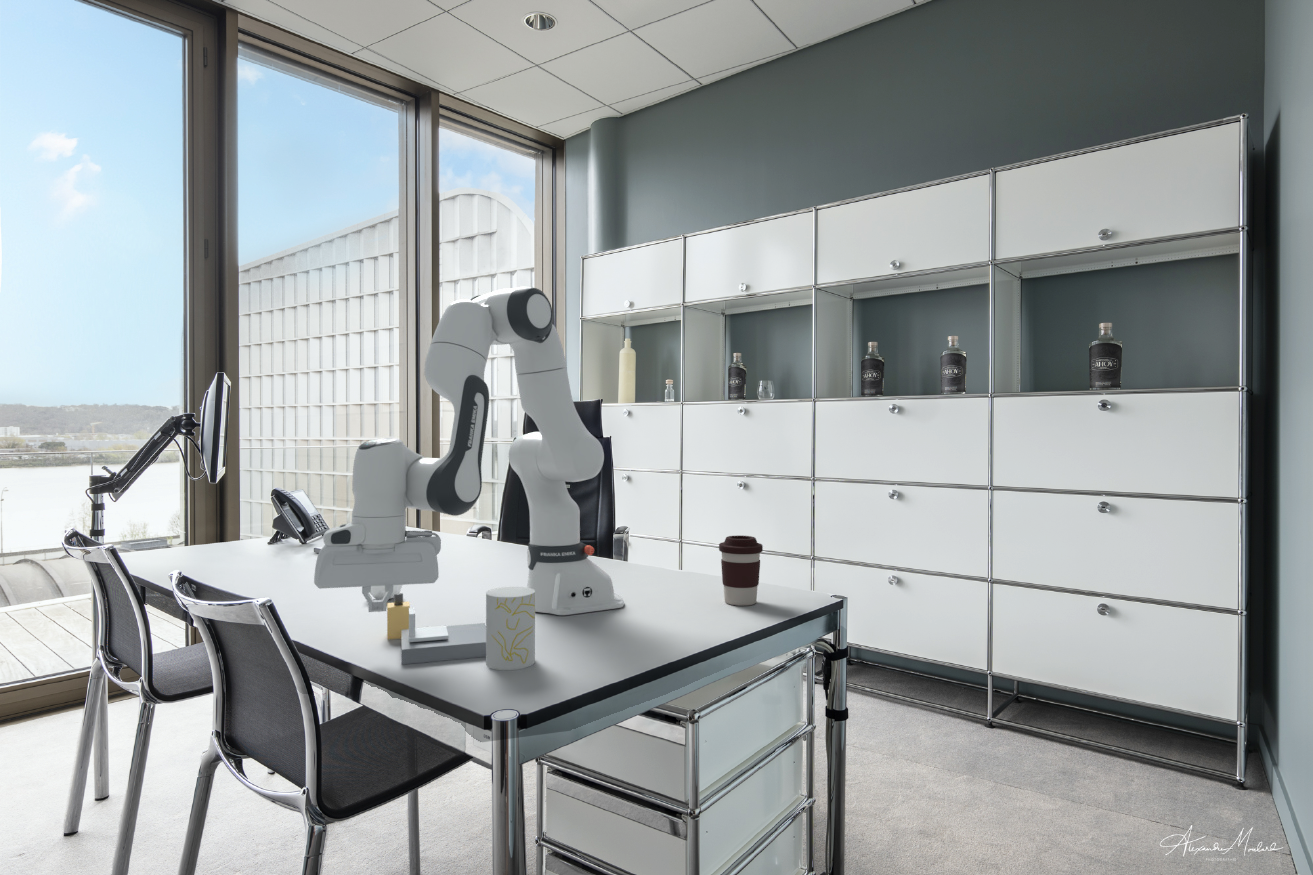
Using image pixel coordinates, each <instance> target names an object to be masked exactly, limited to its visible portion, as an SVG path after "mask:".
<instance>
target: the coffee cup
mask: <svg viewBox="0 0 1313 875" xmlns="http://www.w3.org/2000/svg"><path fill="white" fill-rule="evenodd" d="M763 547H764V546H763V544H762V543H760V542H759V543H758V541H757V538H756V537H755V536H751V535H729V536H726V537H725V539H724V541H723V542H720V543H719V544H718V550H719V552H721V560H720V562H721V563H720V564H721V577H722V578H721V579H722V585H723V597H724V602H725V603H726V604H728V605H731V606H737V607H738V606H739V607H741V606H743V607H745V606H746V607H747V606H752V605H755V604H756V603H757V597H758V596H757V595H758V587H759V582H760V569H761V560H760V557H761V553H762V552H763V551H764V550H763V549H764V548H763Z"/></svg>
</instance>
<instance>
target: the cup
mask: <svg viewBox="0 0 1313 875" xmlns="http://www.w3.org/2000/svg"><path fill="white" fill-rule="evenodd" d="M485 599H486V600H485V602H486V603H485V625H486V657H485V665H486V666H487V667H488V668H489V669H493V670H498V671H513V670H516V671H517V670H522V669H525V668H528V667H530V666H533V665H534V664H535V663H536V612H535V590H534V589H531V588H527V586H503V587H502V586H501V587H497V588H492V589H490V590H488V591H486V592H485Z"/></svg>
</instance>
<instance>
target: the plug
mask: <svg viewBox="0 0 1313 875" xmlns="http://www.w3.org/2000/svg"><path fill="white" fill-rule="evenodd" d="M393 598H394V599H393V602H387V609H386V612H387V613H386V614H387V615H386V616H387V617H386V619H387V620H386V622H387V623H386V625H387V626H386V628H387V629H386V631H387V632H386V633H387V634H386V636H387V641H388V640H396V639H397V640H399V639H401V630H404V629H409V608H411V604H410V601H404V593H403V592H402V593H401V592H400V593H396V594H394V597H393Z"/></svg>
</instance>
